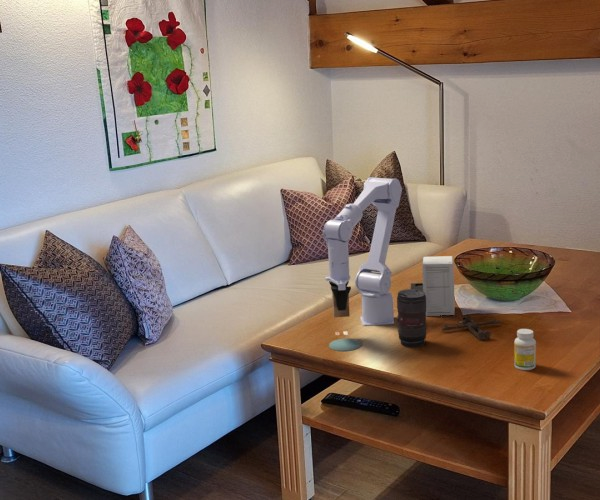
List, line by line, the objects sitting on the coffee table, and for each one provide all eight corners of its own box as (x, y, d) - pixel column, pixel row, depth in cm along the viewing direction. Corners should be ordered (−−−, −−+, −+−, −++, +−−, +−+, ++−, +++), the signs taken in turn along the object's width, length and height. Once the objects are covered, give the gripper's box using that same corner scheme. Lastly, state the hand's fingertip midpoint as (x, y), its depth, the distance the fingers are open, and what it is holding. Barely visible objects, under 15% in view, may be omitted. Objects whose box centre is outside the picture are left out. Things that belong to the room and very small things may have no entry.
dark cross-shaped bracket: (454, 335, 229) (436, 314, 243) (454, 349, 231) (435, 327, 244) (514, 327, 233) (493, 307, 246) (514, 341, 234) (492, 320, 247)
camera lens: (410, 351, 227) (409, 299, 223) (392, 343, 234) (390, 292, 230) (433, 344, 231) (432, 293, 227) (414, 336, 238) (413, 286, 234)
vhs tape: (411, 288, 285) (410, 283, 284) (434, 288, 284) (434, 282, 283) (410, 301, 271) (410, 295, 271) (434, 301, 270) (434, 295, 269)
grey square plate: (356, 327, 248) (356, 326, 248) (360, 338, 239) (360, 337, 239) (323, 329, 248) (323, 328, 248) (325, 341, 238) (325, 340, 238)
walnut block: (348, 311, 240) (347, 288, 239) (349, 316, 236) (348, 293, 234) (333, 312, 240) (331, 289, 239) (334, 317, 236) (333, 294, 234)
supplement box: (454, 306, 262) (453, 255, 257) (454, 316, 253) (454, 263, 249) (424, 306, 263) (422, 255, 259) (423, 316, 255) (421, 263, 250)
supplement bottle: (530, 372, 208) (530, 336, 206) (510, 367, 212) (510, 332, 209) (539, 365, 212) (539, 330, 210) (519, 361, 216) (520, 326, 213)
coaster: (358, 339, 238) (358, 337, 238) (362, 350, 230) (362, 348, 229) (327, 341, 238) (327, 339, 238) (330, 352, 229) (330, 351, 229)
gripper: (323, 256, 241) (325, 300, 245) (326, 269, 227) (329, 316, 230) (347, 254, 241) (349, 299, 245) (352, 267, 227) (354, 314, 231)
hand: (340, 307), depth 238 cm, fingers closed on walnut block, 4 cm apart
